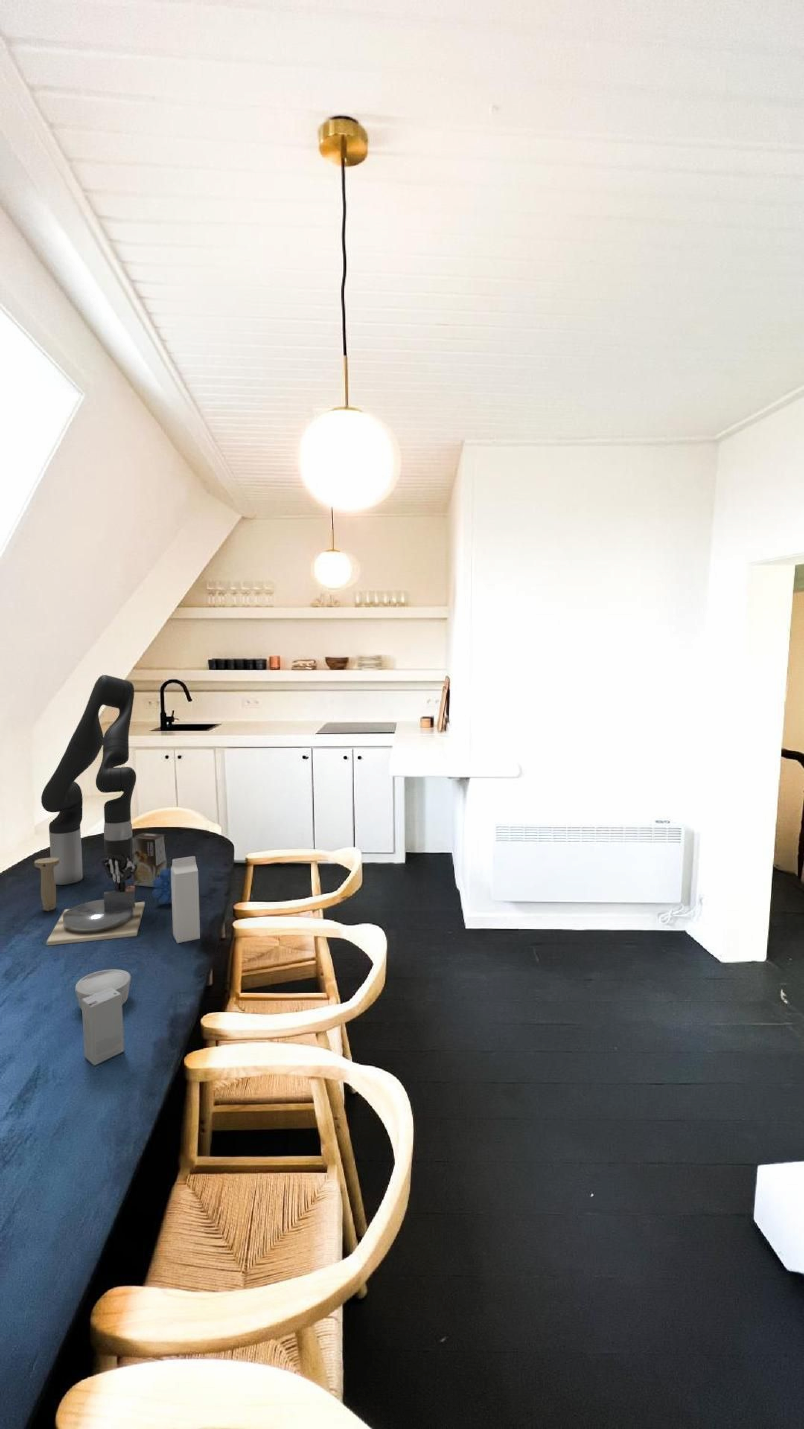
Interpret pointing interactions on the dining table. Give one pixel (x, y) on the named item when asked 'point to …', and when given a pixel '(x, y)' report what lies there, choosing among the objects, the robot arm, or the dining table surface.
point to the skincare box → (103, 1025)
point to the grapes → (163, 887)
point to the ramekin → (103, 984)
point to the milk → (185, 899)
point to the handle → (47, 882)
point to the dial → (101, 912)
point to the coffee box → (148, 857)
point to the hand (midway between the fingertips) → (120, 893)
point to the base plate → (126, 930)
